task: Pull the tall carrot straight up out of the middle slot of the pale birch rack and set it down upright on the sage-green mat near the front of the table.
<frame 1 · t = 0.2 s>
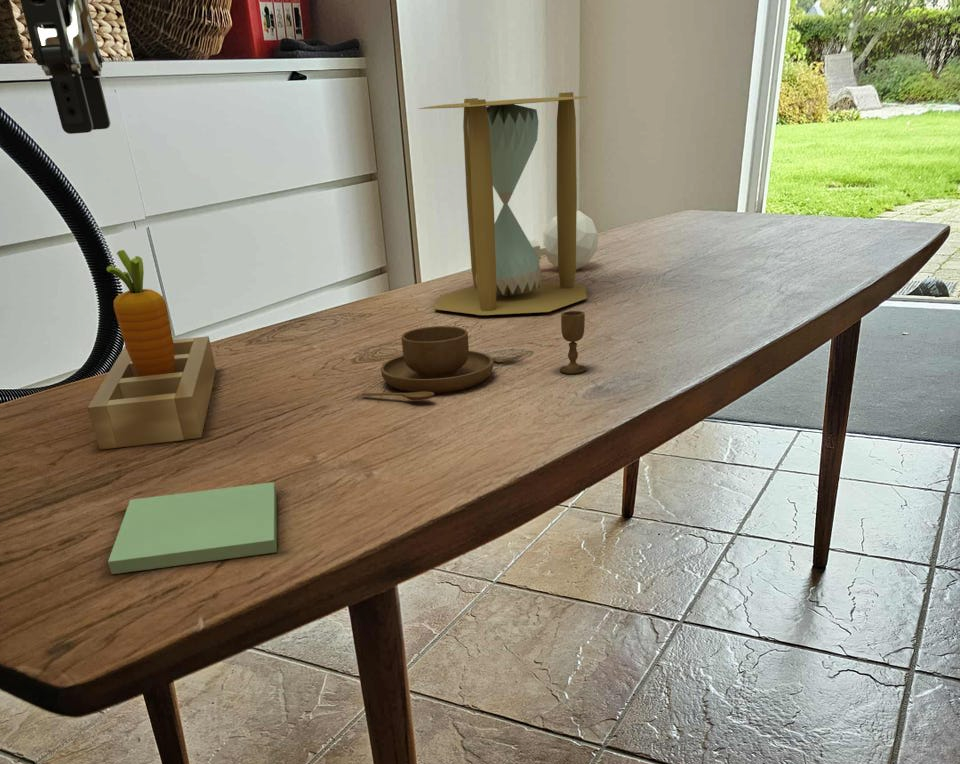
hand: (89, 131, 73), 25 cm above the table, tool pointing down, fingers open, 8 cm apart
carrot: (165, 408, 93), resting in rack
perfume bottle: (561, 270, 147), on the table
place setting: (473, 384, 94), on the table
rack: (164, 406, 93), on the table
mat: (200, 530, 66), on the table
hourglass: (511, 301, 129), on the table
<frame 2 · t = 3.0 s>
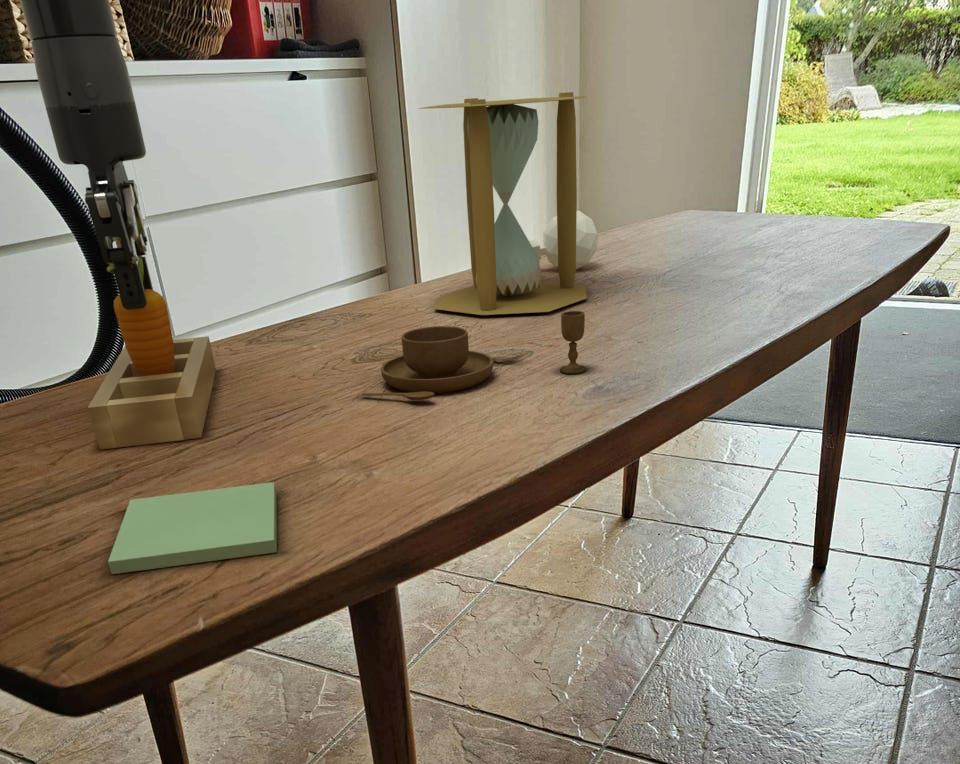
hand: (139, 301, 88), 10 cm above the table, tool pointing down, fingers closed on carrot, 5 cm apart
carrot: (165, 408, 93), resting in rack, touching gripper
everything else where it was.
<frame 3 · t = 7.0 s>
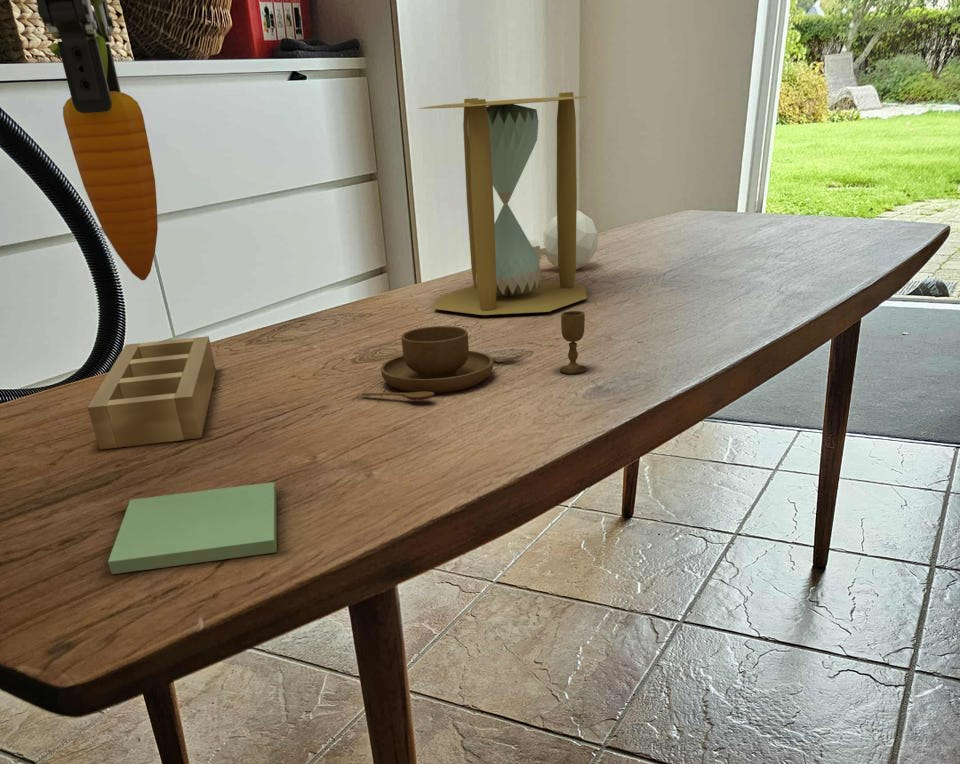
hand: (101, 110, 58), 27 cm above the table, tool pointing down, fingers closed on carrot, 5 cm apart
carrot: (143, 282, 64), point 16 cm above the table, touching gripper
everything else where it was.
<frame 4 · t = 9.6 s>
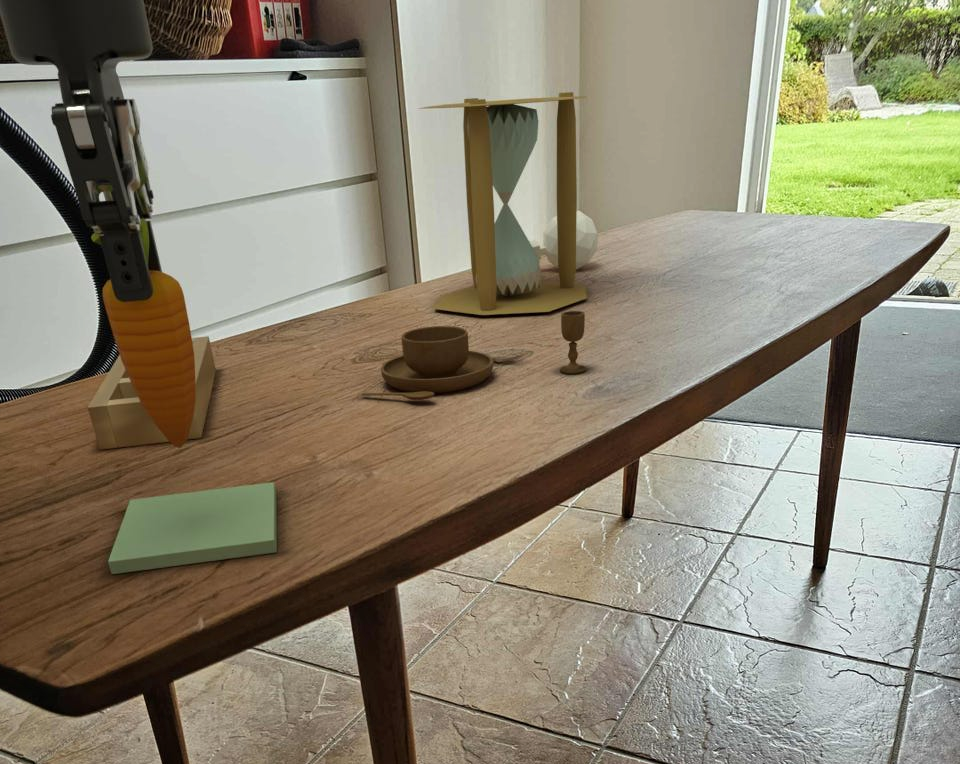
hand: (141, 290, 57), 17 cm above the table, tool pointing down, fingers closed on carrot, 5 cm apart
carrot: (180, 450, 62), point 6 cm above the table, touching gripper
everything else where it was.
when the fingers open (11 cm above the table, at t = 11.4 s): carrot stays where it is, resting on mat.
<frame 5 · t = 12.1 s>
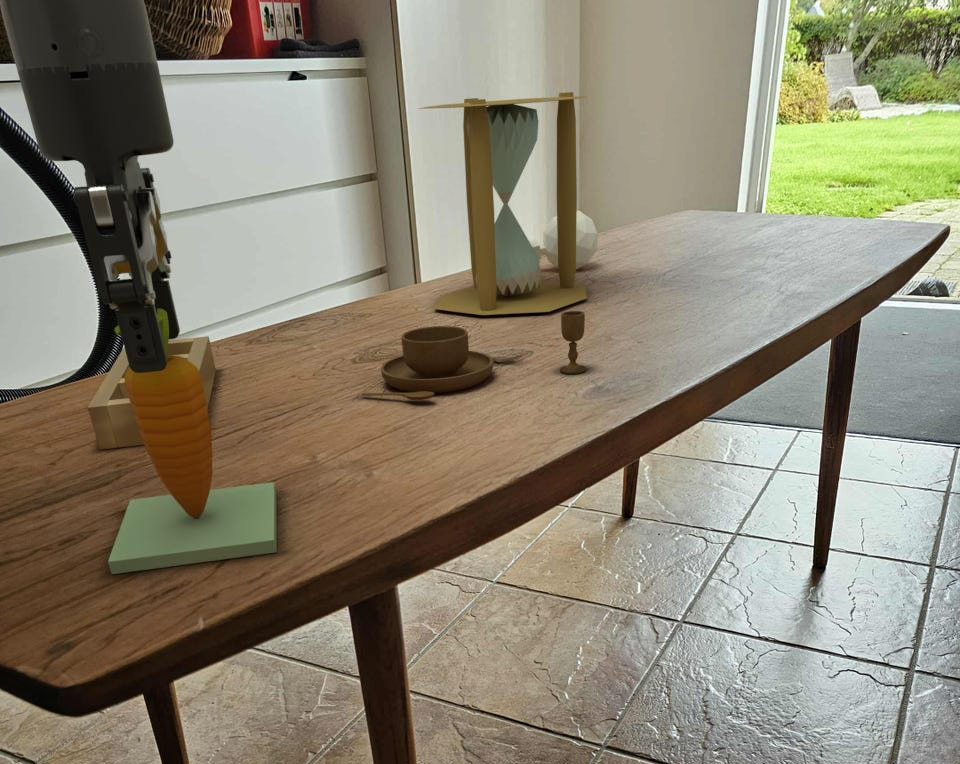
hand: (157, 353, 59), 13 cm above the table, tool pointing down, fingers open, 8 cm apart
carrot: (197, 520, 65), point 1 cm above the table, touching mat
everything else where it was.
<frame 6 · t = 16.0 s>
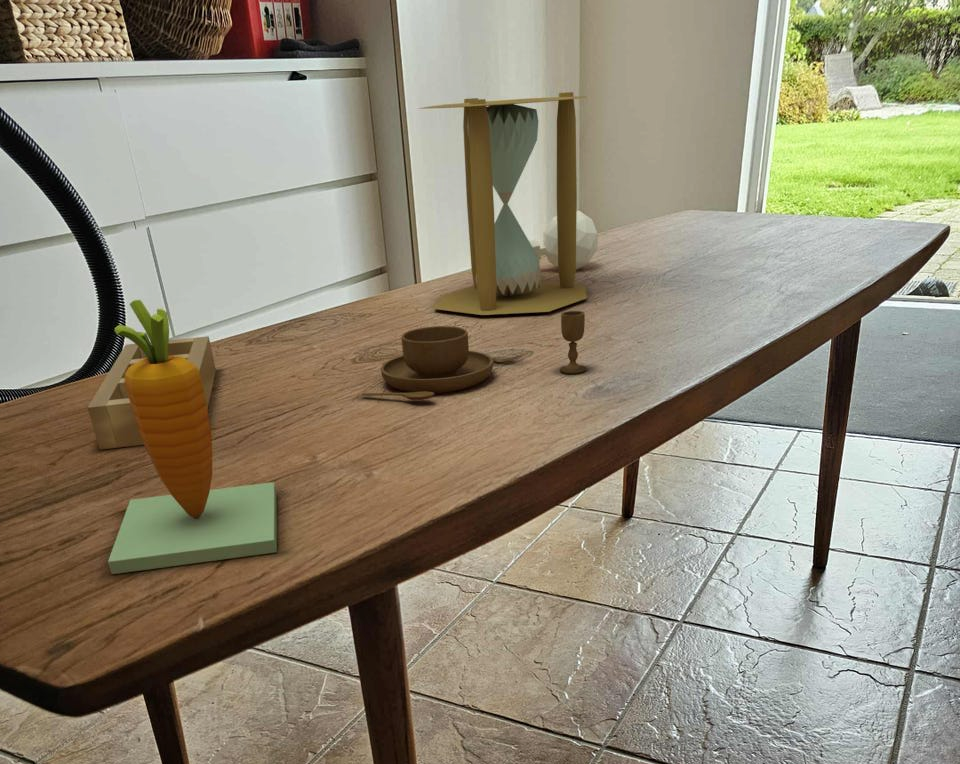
nothing on the table moved.
at the end: carrot inside the target area on the mat (0.1 cm from its centre), point 0.8 cm above the mat's base; carrot tilted 0°; the gripper is holding nothing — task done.
